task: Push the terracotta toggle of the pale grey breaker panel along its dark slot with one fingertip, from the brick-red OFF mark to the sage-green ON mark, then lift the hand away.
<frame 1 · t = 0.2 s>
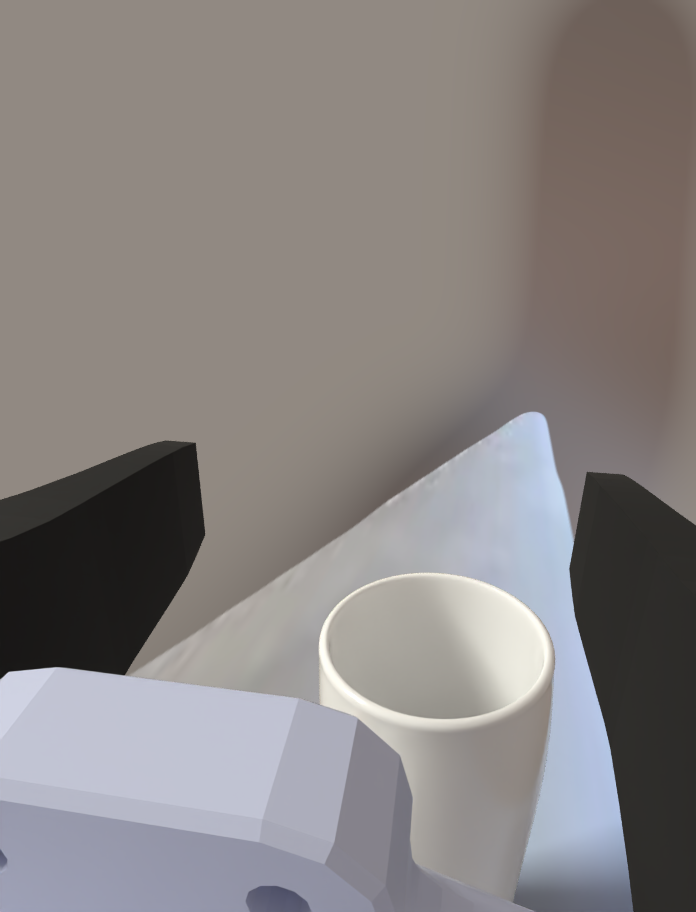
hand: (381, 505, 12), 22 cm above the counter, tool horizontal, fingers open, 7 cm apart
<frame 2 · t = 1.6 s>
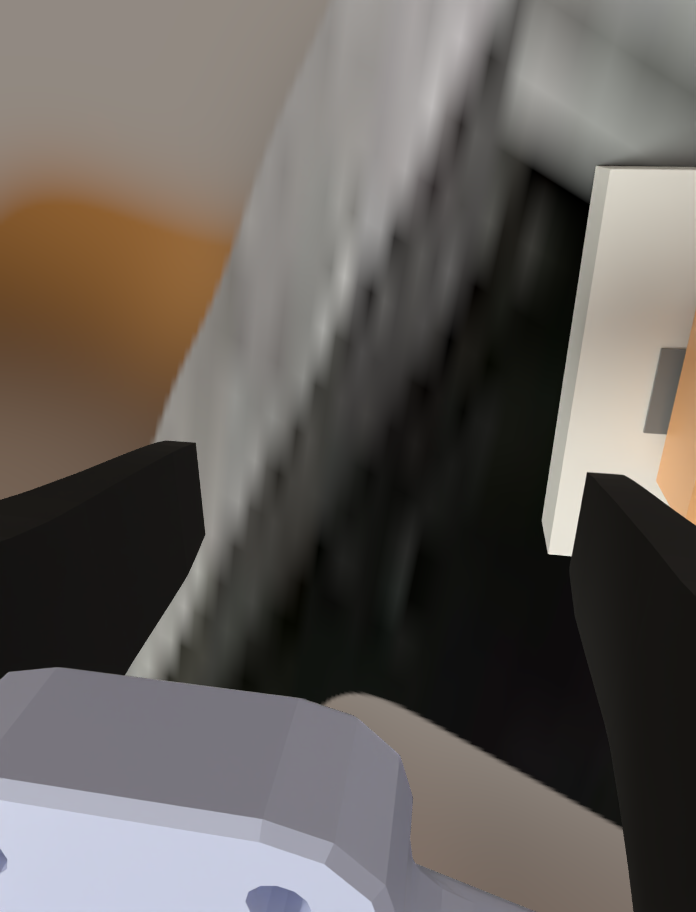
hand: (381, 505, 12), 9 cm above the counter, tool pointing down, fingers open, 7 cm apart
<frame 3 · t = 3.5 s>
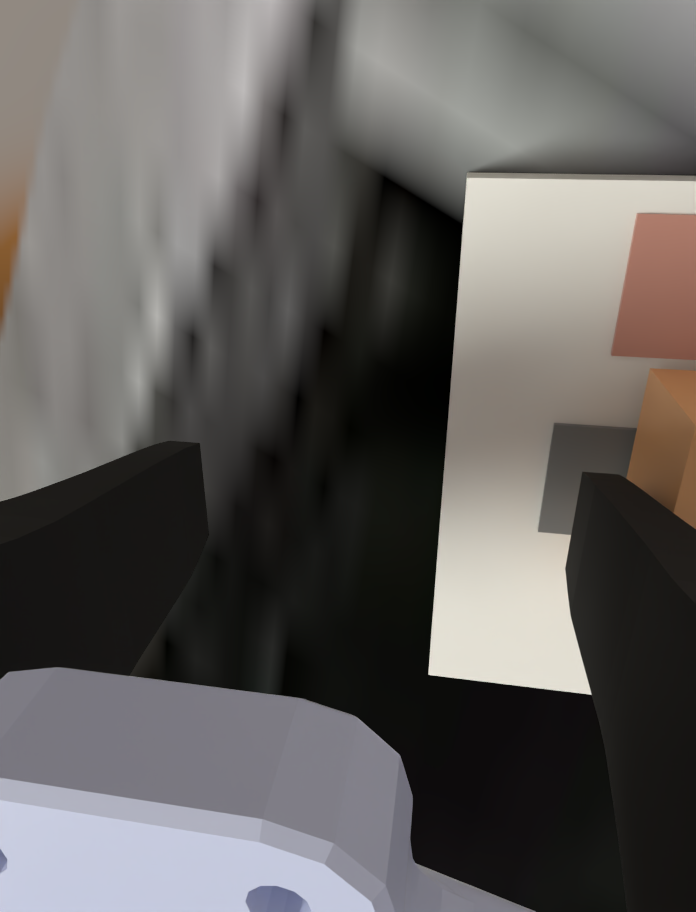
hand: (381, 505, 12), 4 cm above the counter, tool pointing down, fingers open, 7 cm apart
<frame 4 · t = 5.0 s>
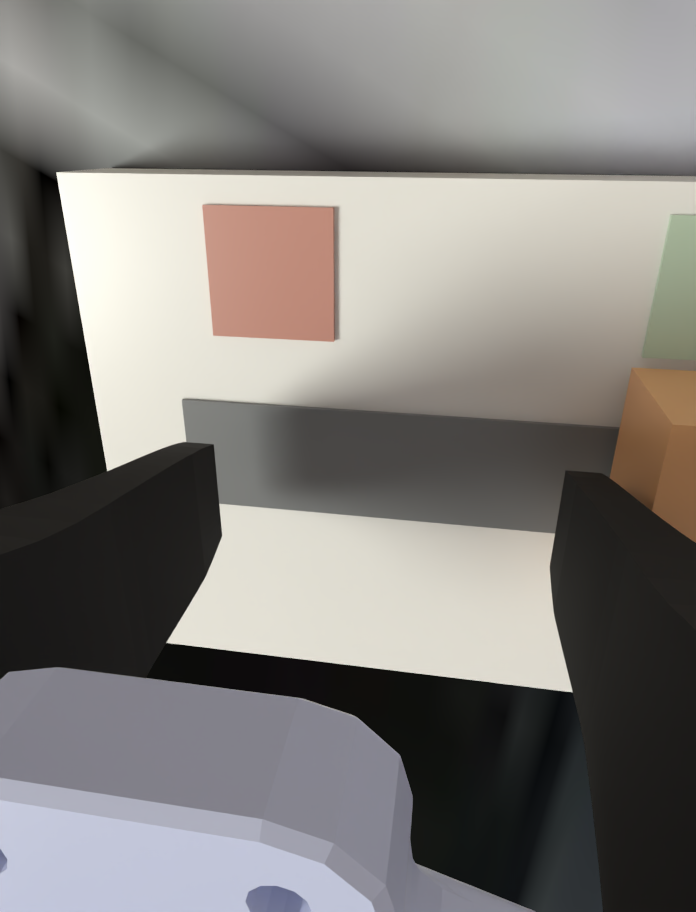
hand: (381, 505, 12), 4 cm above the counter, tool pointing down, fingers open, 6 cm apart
breaker panel: (470, 433, 15), on the counter
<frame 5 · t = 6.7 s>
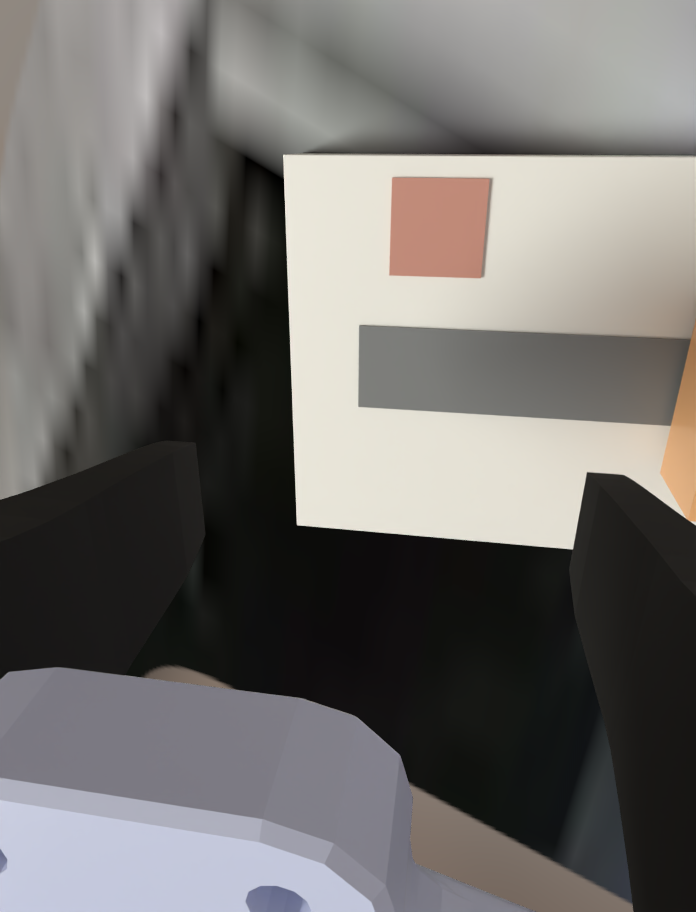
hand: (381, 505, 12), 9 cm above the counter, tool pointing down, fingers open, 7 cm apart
breaker panel: (566, 356, 20), on the counter
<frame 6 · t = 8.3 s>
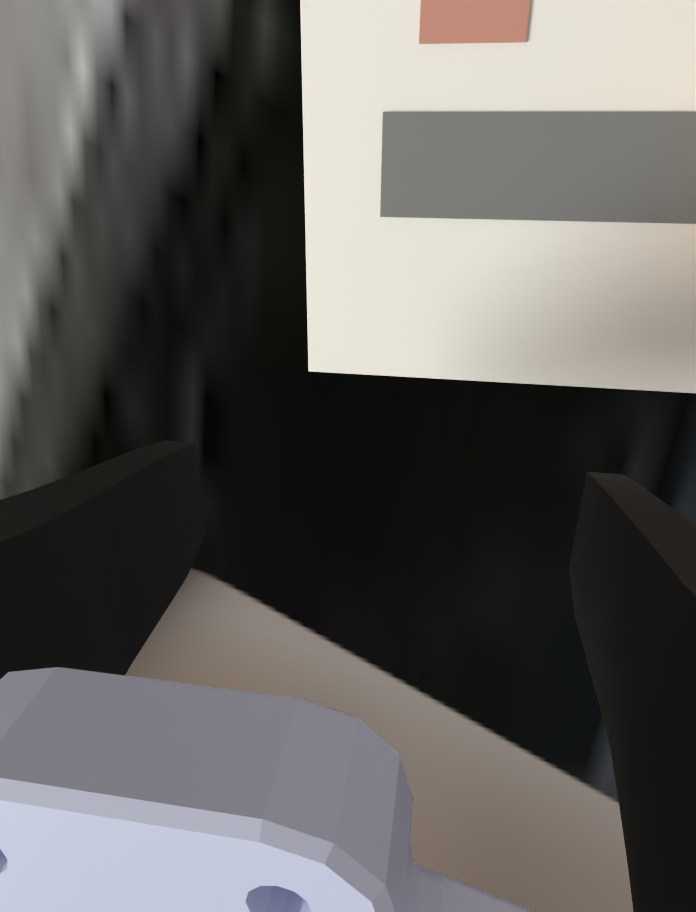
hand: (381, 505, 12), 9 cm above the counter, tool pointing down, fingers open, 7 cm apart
breaker panel: (615, 165, 17), on the counter
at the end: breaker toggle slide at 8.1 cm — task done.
